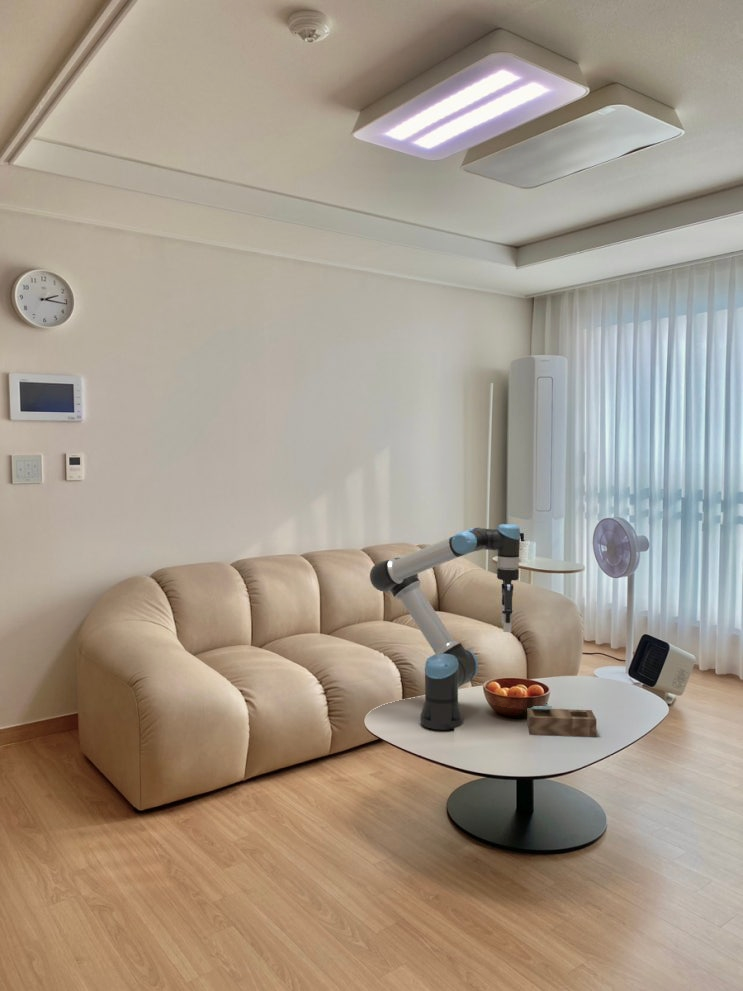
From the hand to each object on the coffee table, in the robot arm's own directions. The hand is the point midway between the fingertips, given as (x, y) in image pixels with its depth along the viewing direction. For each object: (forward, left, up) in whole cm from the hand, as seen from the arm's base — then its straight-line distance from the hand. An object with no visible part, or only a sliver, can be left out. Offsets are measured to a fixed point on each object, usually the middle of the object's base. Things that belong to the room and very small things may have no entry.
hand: (506, 627), depth 281 cm
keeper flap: (+12, -6, -27) cm, 30 cm away
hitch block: (+18, -9, -34) cm, 39 cm away
